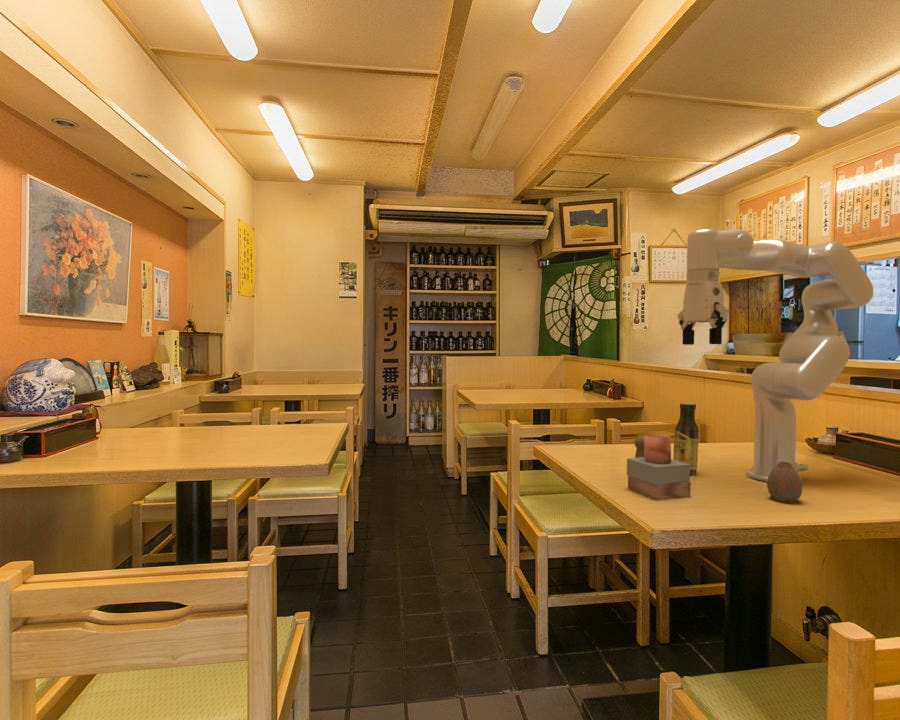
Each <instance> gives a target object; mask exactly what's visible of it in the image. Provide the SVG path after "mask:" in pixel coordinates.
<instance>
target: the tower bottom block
mask: <svg viewBox="0 0 900 720" xmlns="http://www.w3.org/2000/svg"><path fill="white" fill-rule="evenodd" d="M691 485H692V483H691V481H688V482H678V483H668V484H658V485H655V484H652V483H650V482H647V481H644V480H641V479H638V478H635V477H633V476H630V475H627V489H628V488H629V489H628V490H630V489H631V491H632V490H634V491H633V492H635V491H636V492H635V493H637V492H638V493H637V494H639V493H640V494H639V495H641V494H642V496H643V495H644V497H646V498H648V497H649V498H648V499H650V498H651V499H650V500H652V499H654V500H653V501H658V500H657V499H663V500H671V499H670V498H676V499H682V498H681V497H688V498H691V491H692V489H691Z"/></svg>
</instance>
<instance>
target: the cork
mask: <svg viewBox="0 0 900 720" xmlns="http://www.w3.org/2000/svg"><path fill="white" fill-rule="evenodd" d="M634 446H635V448H636V450H635V456H634V458H640V457H644V435H640V436H636V437H635V439H634Z"/></svg>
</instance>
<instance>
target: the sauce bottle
mask: <svg viewBox="0 0 900 720" xmlns="http://www.w3.org/2000/svg"><path fill="white" fill-rule="evenodd" d="M696 405H697V404H696V403H692V402H680V403H679V409H680V411H679V419H678V422H677V424H676V426H675V428H674V433H673V434H674V438H673V458H672V460H675V461H679V462H683V463H686V464H690V476H691V475H692V476H693V474H694V475H696V474H697V472H698V471H697V470H698V462H699V461H698V459H699V457H698V455H699V438H700V437H699V427H698V424H697V423H696V420H695V419H696V416H695V413H696V412H695V411H696V408H697V406H696Z"/></svg>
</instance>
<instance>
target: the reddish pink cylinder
mask: <svg viewBox="0 0 900 720" xmlns="http://www.w3.org/2000/svg"><path fill="white" fill-rule="evenodd" d="M643 436H644V460H645V461H646V462H650V463H659V464H664V463H670V462H671V459H672V440H671V439H672V437H671V435H667V434H656V433H651V434H644V435H643Z"/></svg>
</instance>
